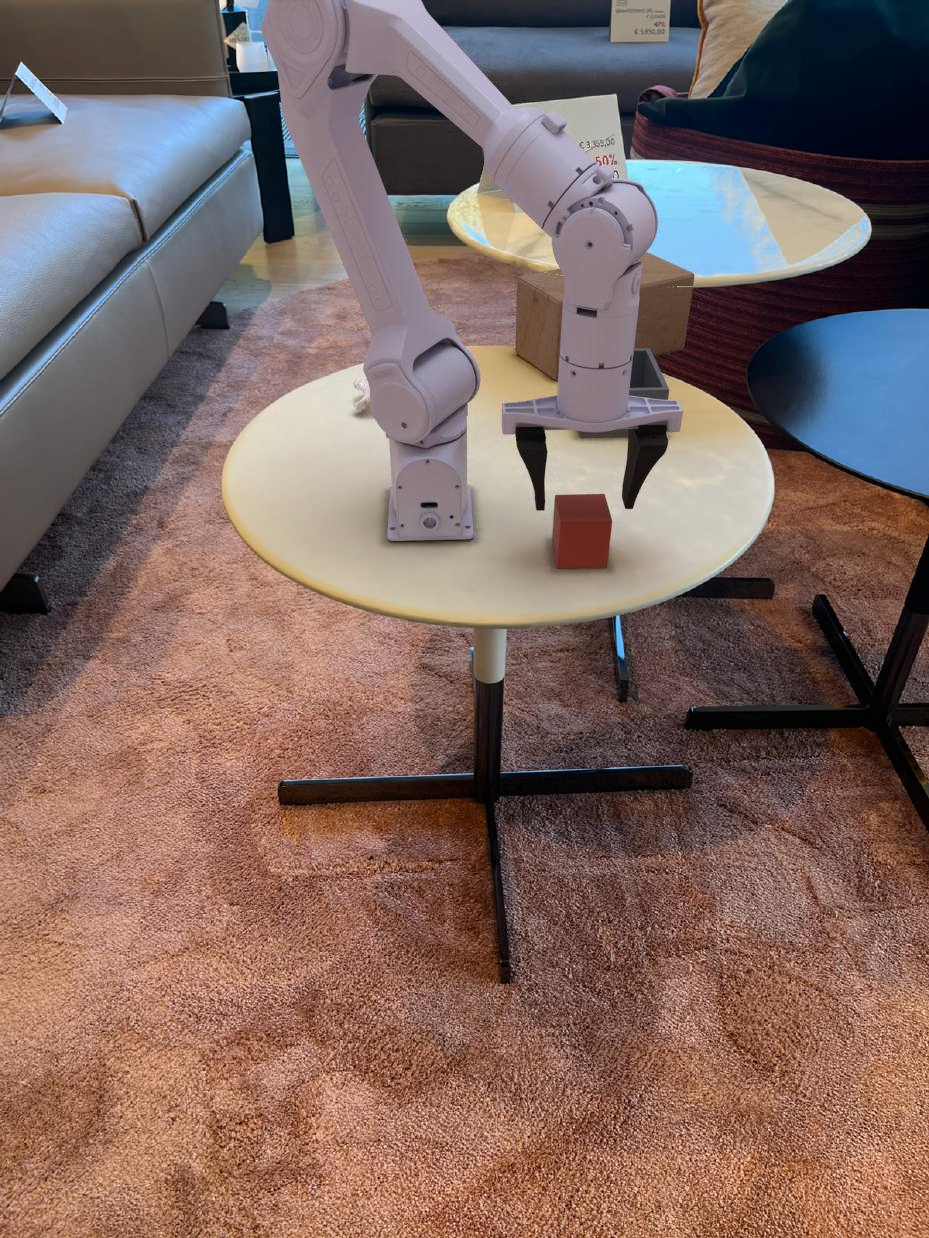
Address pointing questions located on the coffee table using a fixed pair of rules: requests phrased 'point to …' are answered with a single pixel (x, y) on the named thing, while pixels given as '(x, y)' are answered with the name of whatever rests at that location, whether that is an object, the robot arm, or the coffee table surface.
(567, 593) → the coffee table surface
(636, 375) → the tub
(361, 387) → the white lumpy piece
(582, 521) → the block
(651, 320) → the wooden block
